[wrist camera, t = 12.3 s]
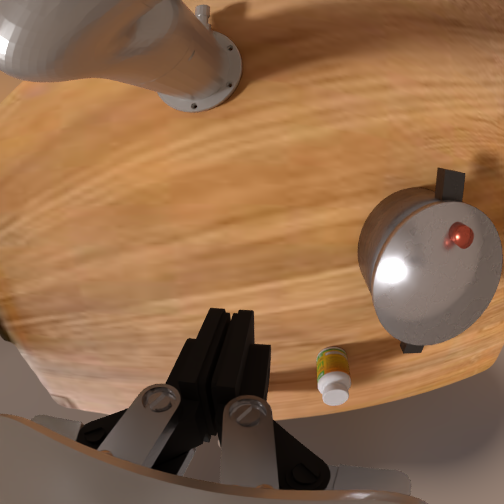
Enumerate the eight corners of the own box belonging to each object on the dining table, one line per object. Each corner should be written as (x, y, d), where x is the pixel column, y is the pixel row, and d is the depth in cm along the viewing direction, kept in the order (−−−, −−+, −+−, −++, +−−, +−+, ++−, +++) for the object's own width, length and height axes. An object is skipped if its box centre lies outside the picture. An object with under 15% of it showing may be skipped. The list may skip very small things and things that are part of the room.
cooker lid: (384, 190, 28) (393, 196, 25) (510, 210, 25) (524, 217, 22) (357, 340, 34) (361, 356, 31) (472, 337, 32) (481, 350, 29)
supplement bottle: (317, 345, 47) (319, 386, 38) (348, 345, 47) (356, 385, 38) (315, 368, 49) (316, 409, 40) (344, 367, 49) (350, 407, 40)
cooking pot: (366, 155, 36) (389, 160, 26) (472, 173, 34) (511, 184, 24) (345, 318, 45) (354, 358, 36) (440, 318, 43) (463, 353, 33)
